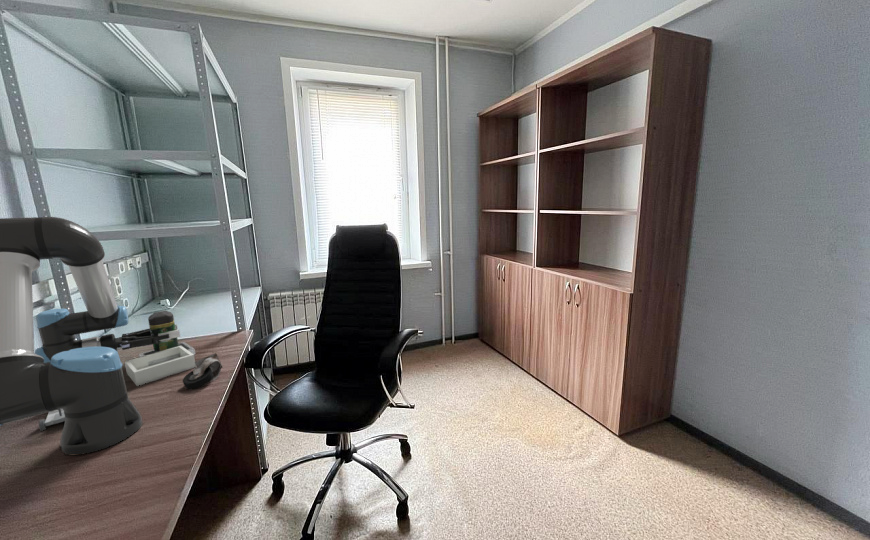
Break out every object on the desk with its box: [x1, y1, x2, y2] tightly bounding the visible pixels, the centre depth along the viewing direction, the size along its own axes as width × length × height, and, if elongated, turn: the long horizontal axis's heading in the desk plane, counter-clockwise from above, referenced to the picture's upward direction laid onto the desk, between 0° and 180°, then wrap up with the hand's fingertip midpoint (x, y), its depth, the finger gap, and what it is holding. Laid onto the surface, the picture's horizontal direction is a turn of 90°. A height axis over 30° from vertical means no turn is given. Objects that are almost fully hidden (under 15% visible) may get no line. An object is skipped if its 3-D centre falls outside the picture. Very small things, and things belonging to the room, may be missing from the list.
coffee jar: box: [148, 310, 179, 353], centre depth 136 cm, size 10×8×19 cm
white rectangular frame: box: [138, 341, 196, 366], centre depth 137 cm, size 13×15×2 cm
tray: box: [124, 346, 197, 387], centre depth 125 cm, size 15×17×5 cm
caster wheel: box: [182, 352, 223, 391], centre depth 116 cm, size 7×11×10 cm
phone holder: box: [38, 409, 65, 432], centre depth 99 cm, size 18×10×12 cm
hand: (178, 330), depth 138 cm, fingers closed on coffee jar, 8 cm apart
